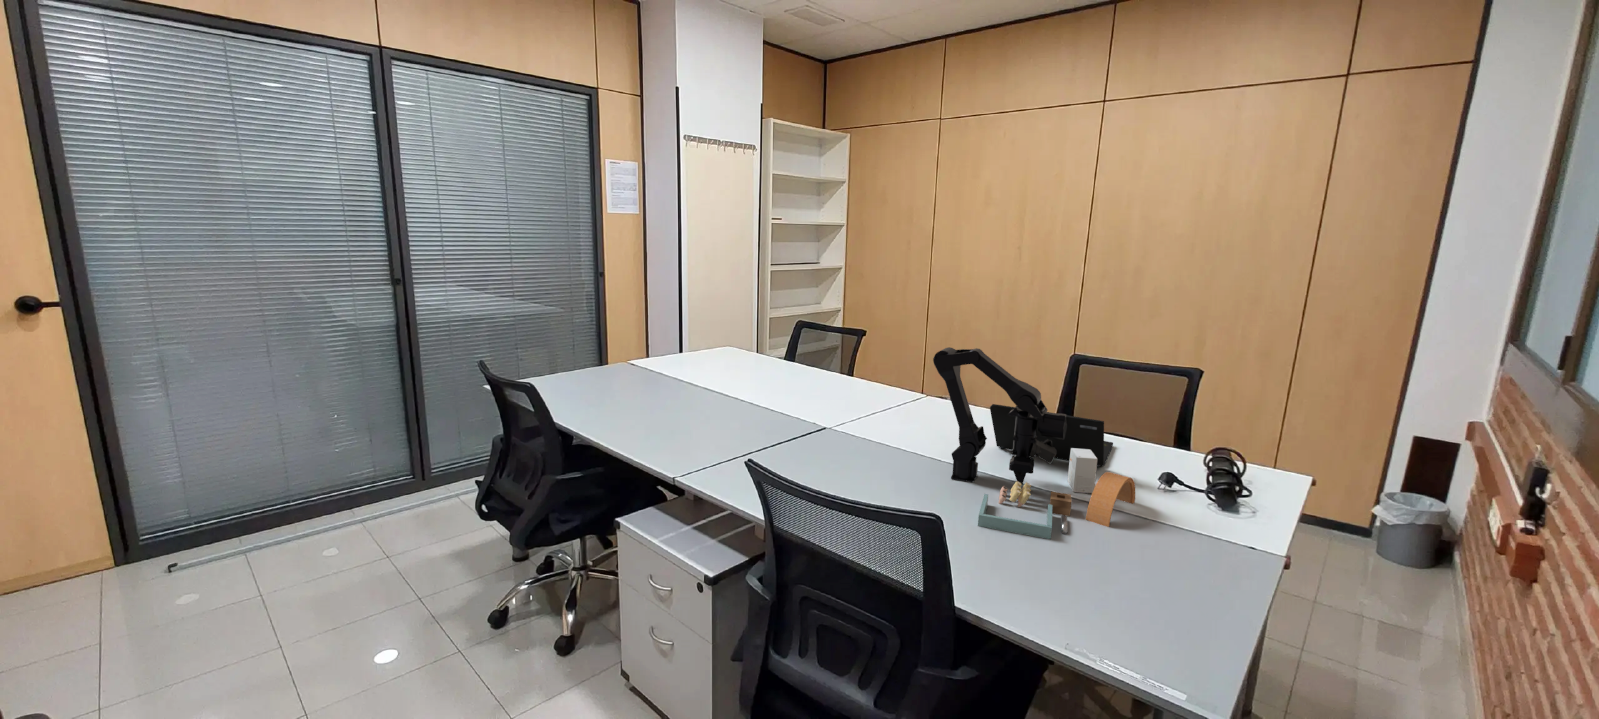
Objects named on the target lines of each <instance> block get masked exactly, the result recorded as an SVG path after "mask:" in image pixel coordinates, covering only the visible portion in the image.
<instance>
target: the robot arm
mask: <svg viewBox="0 0 1599 719" xmlns="http://www.w3.org/2000/svg"><path fill="white" fill-rule="evenodd" d="M932 361H933V365H934V367H935V369H936V371H937V372H938V374H939V376H940V377H941V378H942V380H943V381H944V382H945V386H946V388H947V389H946V390H947V392H948V396H949V398H950V402H951V405H952V408H953V411H954V415H955V417H956V418H955V419H956V421H957V424H958V428H959V429H958V443H959V446H958V447H957V448H956V449H955V450H953V451H952V453H951V457H952V460H953V462H952V463H953V464H952V474H951V478H950V479H952V480H957V481H963V482H969V483H974V481H975V479H977V477H978V468H979V462H977V457H976V456H979V454H980V453H981V452H983V450H984V449H985V447H986V440H987V439H988V438H987V437H986V434H985V430H984V426H983V425H982V426H980V427H979V426H978V425H977V424H976V422H975V421H974V416H973V414H972V411H971V407H970V404H969V401H968V398H967V395H966V391H965V387H964V385H963V382H962V378H961V367H962V366H966V365H973V366H974V367H975V368H977V369H978V370H979V371H981V372H982V373H983V374H984V375H985V376H986V377H987V378H989V379H990V380H992V381H993V383H995V384H996V385H998V386H999V387H1000V388H1001V389H1003V390H1004V391H1005V393H1006V394H1007V395H1008V397H1009V399H1010V400H1011V401H1012V402H1013V404H1014V405H1015V406H1014V407H1015V408H1014V409H1013V410H1011V411H1010V412H1009V413H1008V415H1010V416H1016V421H1015V431H1014V439H1013V440H1014V442H1013V450H1011V451H1012V452H1011V454H1012V456H1011V458H1010V459H1009V464H1008V465H1009V467H1008V470H1009V471H1012V472H1013V475H1014V476H1015V479H1016V481H1018V482H1020V483H1021V484H1022V485H1024V481H1025V478H1026V475H1027V474H1033V473H1034V468H1035V459H1036V457H1037V458H1039V459H1041V460H1044V461H1045V462H1046V463H1048V464H1052V462H1053V461H1054V459H1055V458H1054V457H1055V455H1056V449H1055V447H1052V441H1051V440H1048V439H1047V440H1045V441H1044V442H1042V441H1041V442H1040V441H1037V436H1036V430H1037V420H1039V425H1038V431H1039V432H1040V434H1042V436H1047V437H1052V438H1058V439H1064V438H1065V435H1066V430H1067V424H1066V415H1067V414H1066V413H1058V412H1057V413H1056V412H1049V411H1048V408H1047V406H1046V404H1045V403H1044V401H1042V393H1041V392H1040V390H1039V389H1038V388H1036V387H1034V386H1033V385H1031V384H1029V383H1027V382H1025V381H1023V380H1020V379H1018V378H1016V377H1015V376H1013V375H1012V374H1011V373H1009V372H1008V370H1006V369H1005V368H1003V367H1002V366H1001V365H1000V364H999V363H997V362H996V361H994V360H993V359H992V358H990V357H989V356H988V355H987V354H986V353H985V352H984V351H983V350H982V349H981V348H977V347H976V348H971V349H969V348H967V349H965V348H964V349H963V348H961V349H960V348H959V349H956V348H954V347H945V348H943V349H941V350H939V351H937V352H936V353H935V354H934V356H933V358H932Z"/></svg>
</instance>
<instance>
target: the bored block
mask: <svg viewBox="0 0 1599 719" xmlns="http://www.w3.org/2000/svg"><path fill="white" fill-rule="evenodd" d="M1049 504H1050V505H1052V515H1054V514H1056V515H1060V516H1062V515H1065V516H1066V517H1071V510H1072V494H1070V493H1063V492H1060V491H1059V492H1058V491H1050V498H1049Z"/></svg>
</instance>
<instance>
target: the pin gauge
mask: <svg viewBox="0 0 1599 719" xmlns="http://www.w3.org/2000/svg"><path fill="white" fill-rule="evenodd" d="M1060 532H1061V534H1062V535H1066V534H1068V516H1065V515H1060Z"/></svg>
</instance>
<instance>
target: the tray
mask: <svg viewBox="0 0 1599 719" xmlns="http://www.w3.org/2000/svg"><path fill="white" fill-rule="evenodd" d="M988 502H989V494H988V493H984V494H983V497H982V502H981V506H980V508H979V513H978V518H977V526H978V527H981V528H987V529H993V530H998V531H1004V532H1009V533H1013V534H1015V533H1016V534H1021V535H1027V536H1031V537H1037V538H1043V539H1047V540H1052V530H1053V513H1052V505H1050V503H1048V504H1047V513H1046V524H1042V523H1037V522H1031V521H1025V520H1019V519H1015V518H1014V519H1013V518H1008V517H1003V516H997V515H992V514H986V512H987V510H988V508H987V507H988Z"/></svg>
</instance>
